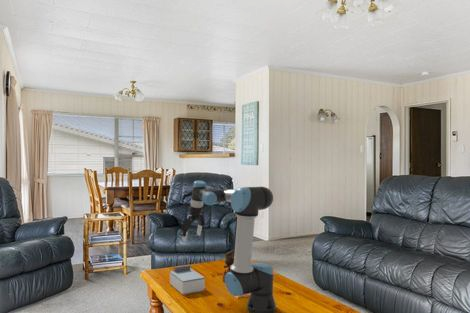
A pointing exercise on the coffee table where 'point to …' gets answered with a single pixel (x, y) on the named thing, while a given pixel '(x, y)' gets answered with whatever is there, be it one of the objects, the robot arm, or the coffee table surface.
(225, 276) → the robot arm
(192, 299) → the coffee table surface
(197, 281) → the box
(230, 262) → the music box
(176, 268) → the lid
